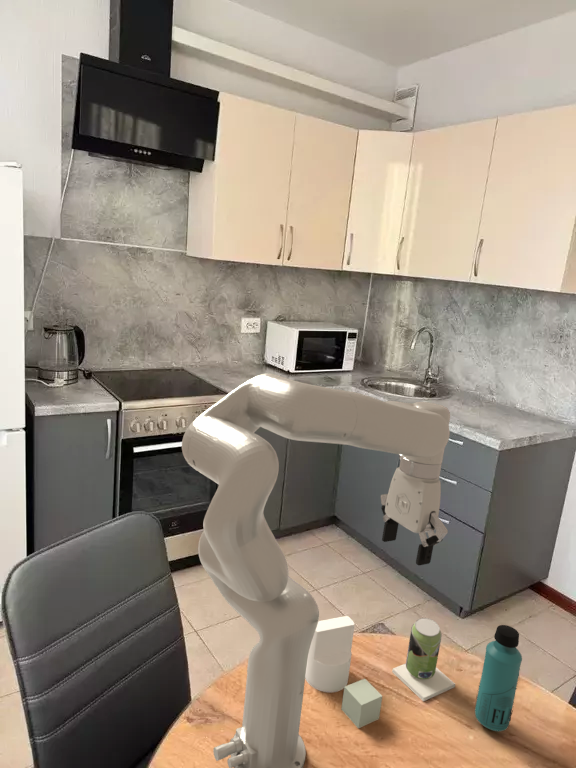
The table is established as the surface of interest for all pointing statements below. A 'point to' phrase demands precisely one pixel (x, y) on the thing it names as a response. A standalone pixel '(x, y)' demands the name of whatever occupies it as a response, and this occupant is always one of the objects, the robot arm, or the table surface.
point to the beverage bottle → (499, 680)
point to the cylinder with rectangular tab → (330, 654)
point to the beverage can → (423, 648)
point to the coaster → (424, 683)
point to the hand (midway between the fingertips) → (405, 551)
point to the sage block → (361, 703)
